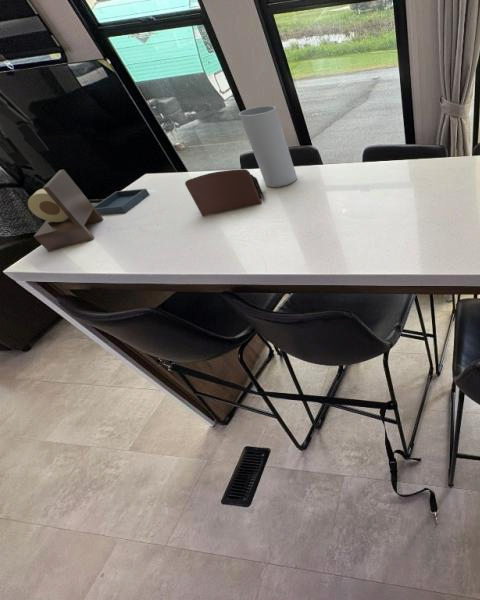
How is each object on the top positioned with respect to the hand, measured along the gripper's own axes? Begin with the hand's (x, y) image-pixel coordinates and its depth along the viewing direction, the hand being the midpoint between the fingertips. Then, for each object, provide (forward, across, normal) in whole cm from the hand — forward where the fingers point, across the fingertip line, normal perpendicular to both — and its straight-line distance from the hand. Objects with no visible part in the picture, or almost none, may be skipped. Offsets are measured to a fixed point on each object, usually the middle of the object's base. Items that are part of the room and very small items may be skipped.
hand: (34, 157), depth 88 cm
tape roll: (+14, +4, +6) cm, 16 cm away
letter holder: (+25, -5, -43) cm, 50 cm away
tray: (+26, +27, -2) cm, 37 cm away
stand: (+26, +4, +6) cm, 27 cm away
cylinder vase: (+25, +10, -62) cm, 67 cm away
